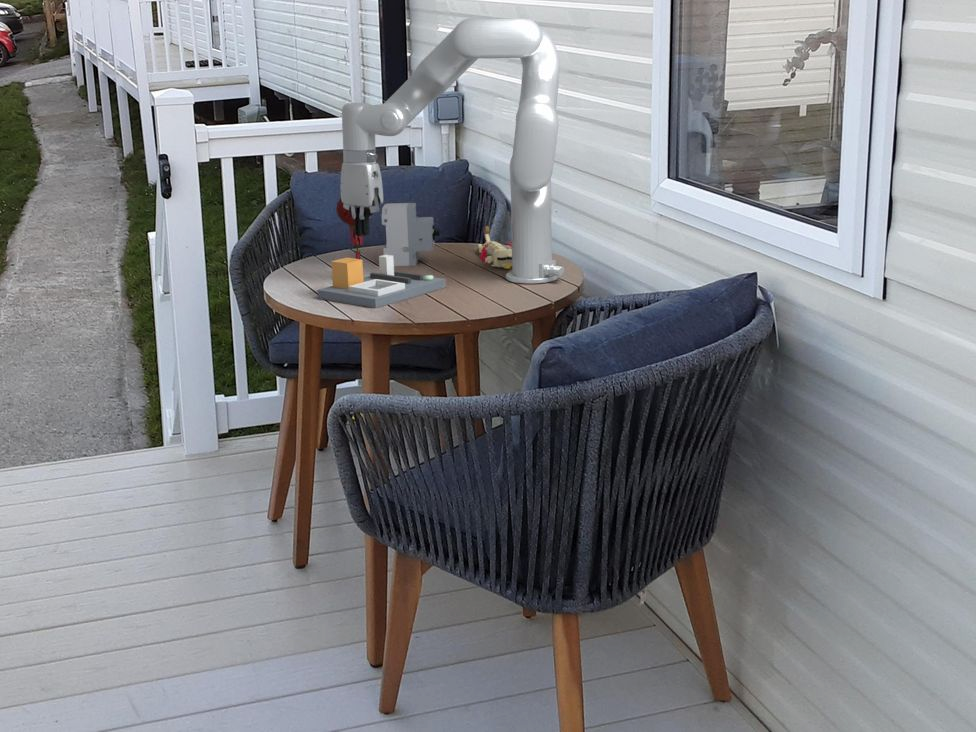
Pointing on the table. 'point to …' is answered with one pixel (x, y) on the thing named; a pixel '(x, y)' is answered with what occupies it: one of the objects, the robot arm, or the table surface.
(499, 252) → the cat figure
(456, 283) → the table surface
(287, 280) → the table surface
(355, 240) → the lantern
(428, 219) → the circuit breaker
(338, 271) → the lockout cap
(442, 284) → the panel
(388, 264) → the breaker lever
